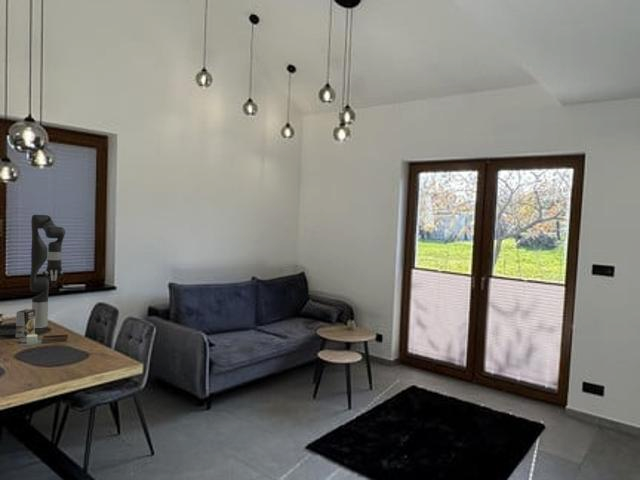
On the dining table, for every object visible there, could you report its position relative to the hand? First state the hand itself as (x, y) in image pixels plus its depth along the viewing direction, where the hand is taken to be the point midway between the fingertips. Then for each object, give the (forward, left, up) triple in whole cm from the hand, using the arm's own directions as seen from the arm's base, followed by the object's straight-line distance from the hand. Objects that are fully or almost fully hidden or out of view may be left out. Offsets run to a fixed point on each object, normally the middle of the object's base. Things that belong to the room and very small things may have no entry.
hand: (53, 286), depth 283 cm
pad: (+12, -9, -32) cm, 35 cm away
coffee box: (-5, -15, -32) cm, 36 cm away
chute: (+12, +3, -32) cm, 34 cm away
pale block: (+13, -9, -31) cm, 35 cm away
